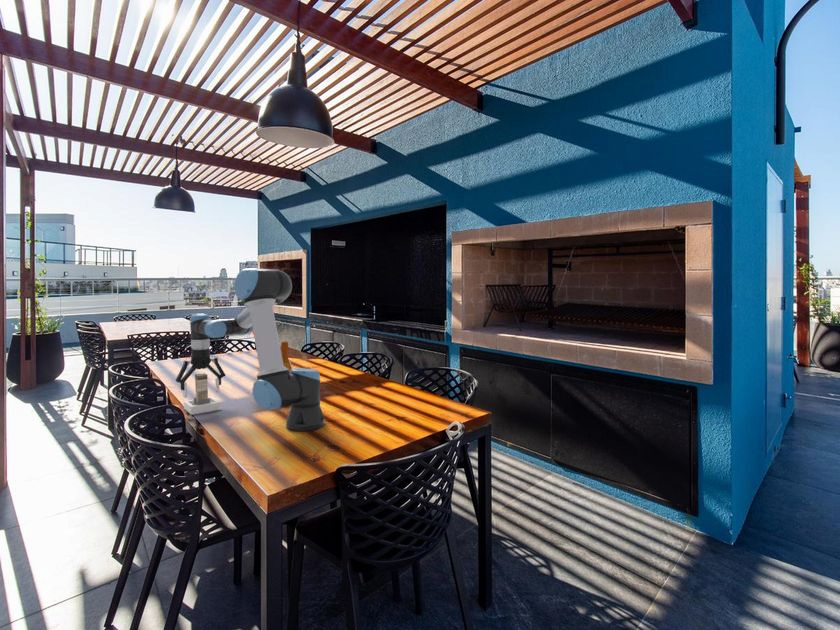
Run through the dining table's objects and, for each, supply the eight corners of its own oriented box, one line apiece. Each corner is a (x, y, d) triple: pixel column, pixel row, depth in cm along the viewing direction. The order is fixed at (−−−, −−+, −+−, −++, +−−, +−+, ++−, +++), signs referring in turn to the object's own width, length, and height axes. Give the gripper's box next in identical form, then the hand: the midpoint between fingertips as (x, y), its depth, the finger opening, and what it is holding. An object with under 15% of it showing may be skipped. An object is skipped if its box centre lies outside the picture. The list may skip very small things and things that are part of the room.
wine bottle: (287, 406, 199) (286, 343, 197) (270, 404, 202) (269, 342, 200) (300, 401, 209) (299, 340, 207) (283, 399, 212) (282, 339, 210)
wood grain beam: (208, 405, 194) (207, 374, 193) (198, 406, 191) (197, 375, 190) (205, 403, 197) (204, 373, 196) (195, 404, 194) (195, 374, 193)
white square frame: (220, 409, 194) (220, 398, 194) (191, 414, 186) (190, 403, 186) (211, 404, 203) (211, 393, 202) (184, 408, 195) (183, 398, 194)
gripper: (226, 345, 204) (227, 388, 205) (167, 350, 187) (168, 397, 188) (232, 346, 198) (232, 391, 200) (171, 352, 181) (172, 401, 183)
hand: (201, 394), depth 194 cm, fingers open, 13 cm apart
